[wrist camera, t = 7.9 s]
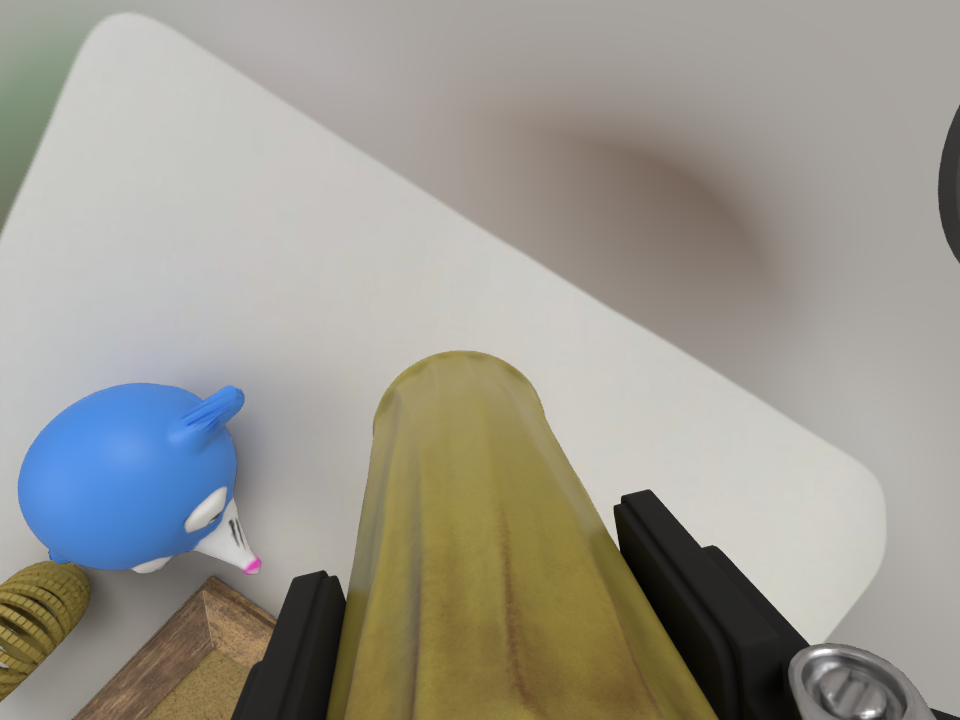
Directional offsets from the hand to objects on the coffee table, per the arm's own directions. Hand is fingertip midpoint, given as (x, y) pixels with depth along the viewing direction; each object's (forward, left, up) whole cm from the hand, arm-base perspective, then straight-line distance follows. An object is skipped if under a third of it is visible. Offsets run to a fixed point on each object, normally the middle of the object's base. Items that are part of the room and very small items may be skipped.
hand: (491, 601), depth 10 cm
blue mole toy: (+15, +3, -21) cm, 26 cm away
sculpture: (+25, +8, -21) cm, 33 cm away
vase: (0, 0, -9) cm, 9 cm away
